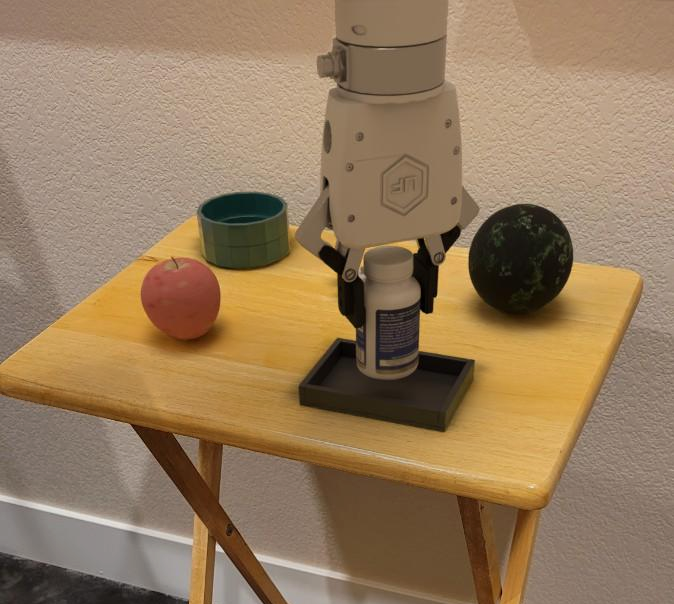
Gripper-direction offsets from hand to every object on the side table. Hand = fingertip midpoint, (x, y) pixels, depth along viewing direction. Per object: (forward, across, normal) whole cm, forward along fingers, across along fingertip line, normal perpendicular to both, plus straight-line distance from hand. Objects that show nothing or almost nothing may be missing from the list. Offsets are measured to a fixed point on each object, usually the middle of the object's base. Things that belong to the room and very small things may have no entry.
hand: (387, 312), depth 73 cm
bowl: (+7, -3, +35) cm, 36 cm away
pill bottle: (+5, 0, 0) cm, 5 cm away
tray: (+7, 0, 0) cm, 7 cm away
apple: (+8, -14, +18) cm, 24 cm away
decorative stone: (+8, +18, +10) cm, 22 cm away
